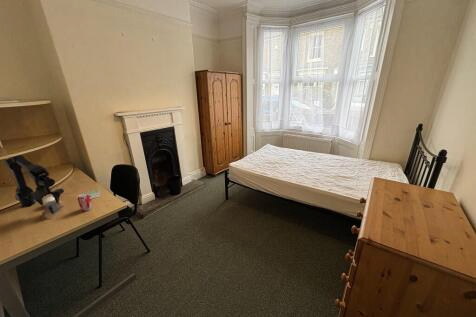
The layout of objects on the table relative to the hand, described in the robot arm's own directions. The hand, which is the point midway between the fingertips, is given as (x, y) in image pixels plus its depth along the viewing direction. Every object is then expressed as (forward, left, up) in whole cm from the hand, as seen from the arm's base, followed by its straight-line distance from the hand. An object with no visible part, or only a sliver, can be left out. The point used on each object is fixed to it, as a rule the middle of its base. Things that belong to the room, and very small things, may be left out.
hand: (50, 204), depth 136 cm
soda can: (+22, -1, -8) cm, 23 cm away
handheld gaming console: (+16, +21, -8) cm, 28 cm away
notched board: (0, 0, -7) cm, 7 cm away
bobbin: (-7, +12, -7) cm, 16 cm away
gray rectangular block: (0, 0, -7) cm, 7 cm away
